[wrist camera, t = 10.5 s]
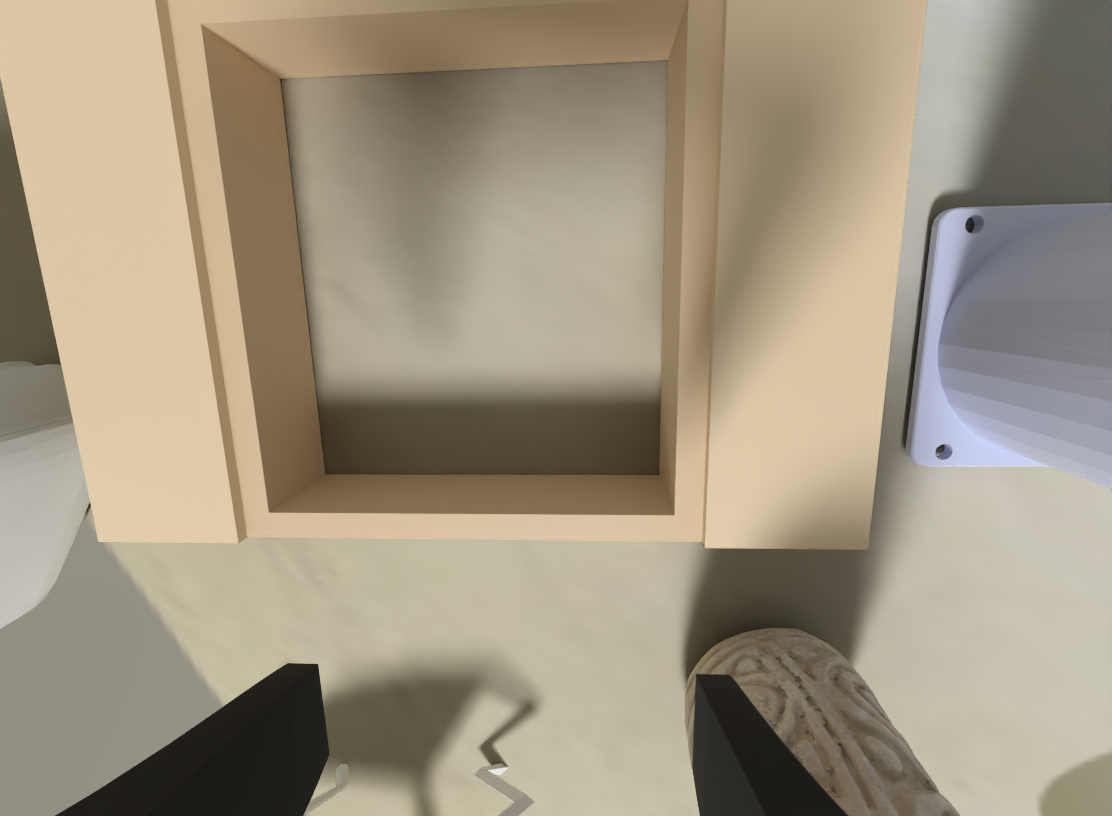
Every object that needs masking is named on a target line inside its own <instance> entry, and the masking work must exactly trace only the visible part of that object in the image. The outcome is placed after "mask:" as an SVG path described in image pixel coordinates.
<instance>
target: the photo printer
mask: <svg viewBox="0 0 1112 816" xmlns="http://www.w3.org/2000/svg"><path fill="white" fill-rule="evenodd" d="M89 503H90V499H89V494H88V489H87V485H86V480H85V475H84V470H83V466H82V461H81V456H80V452H79V447H78V442H77V437H76V433H75V428H74V423H73V418H72V414H71V409H70V404H69V400H68V395H67V390H66V385H65V381H64V376H63V371H62V366H61V365H58V364H46V365H38V366H36V365H34V364H32V363H31V362H27V361H16V362H4V363H0V628H2V627H4V626H5V625H7V624H9V623H10V622H12V621H14V620H15V619H17V618H19V617H20V616H22V615H24V614H25V613H27V612H28V611H30V610H31V609H33V608H34V607H35V606H36V605H37V604H39V603H40V602H41V601H42V600H43V599H44V598H45V597H46V595H47V594H48V593H49V591H50V590H51V588H52V587H53V585H54V584H55V582H56V580H57V578H58V576H59V574H60V572H61V570H62V567H63V565H64V563H65V561H66V559H67V556H68V554H69V552H70V550H71V547H72V545H73V542H74V540H75V538H76V535H77V533H78V530H79V528H80V525H81V523H82V520H83V518H84V515H85V513H86V510H87V507H88V505H89Z"/></svg>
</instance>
